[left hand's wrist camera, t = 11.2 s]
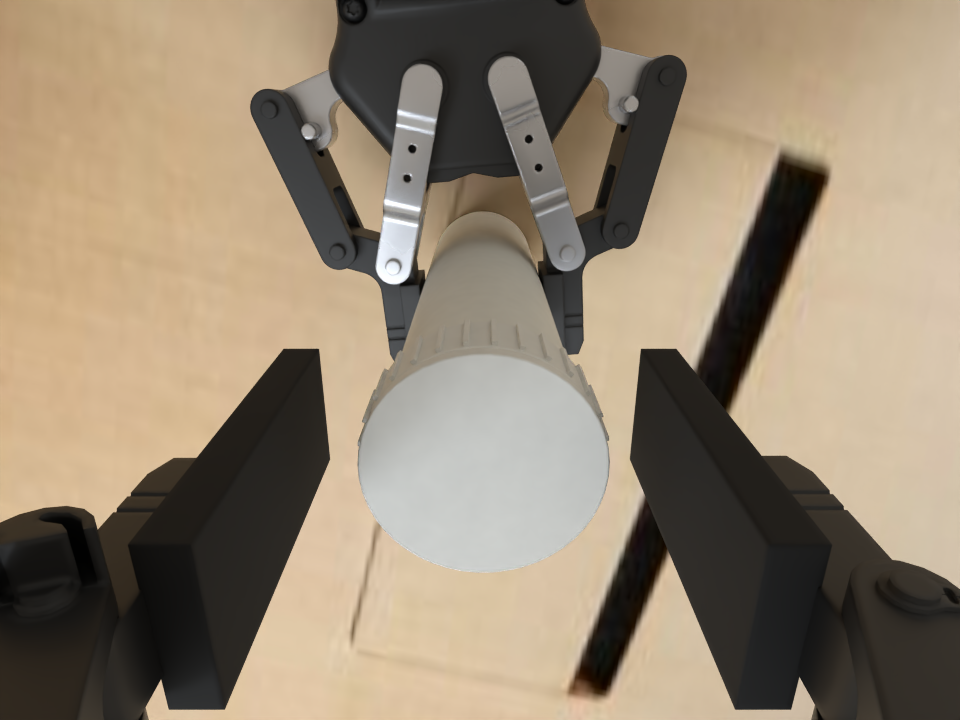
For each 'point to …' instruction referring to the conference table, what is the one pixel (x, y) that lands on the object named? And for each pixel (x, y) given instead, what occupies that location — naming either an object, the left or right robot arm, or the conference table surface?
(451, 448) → the lid
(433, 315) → the white bottle
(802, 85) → the conference table surface
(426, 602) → the conference table surface
